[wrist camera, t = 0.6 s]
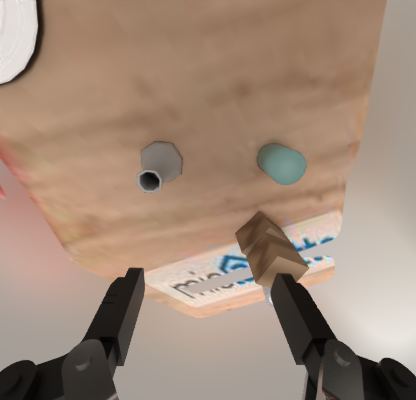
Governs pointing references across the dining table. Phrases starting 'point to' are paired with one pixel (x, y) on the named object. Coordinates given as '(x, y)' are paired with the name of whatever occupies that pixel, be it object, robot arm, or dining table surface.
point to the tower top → (274, 260)
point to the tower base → (257, 232)
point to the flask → (158, 166)
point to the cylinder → (281, 163)
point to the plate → (17, 36)
